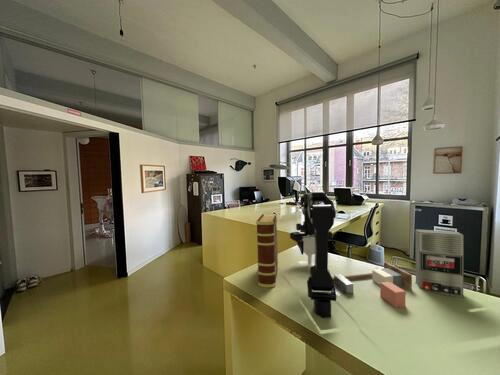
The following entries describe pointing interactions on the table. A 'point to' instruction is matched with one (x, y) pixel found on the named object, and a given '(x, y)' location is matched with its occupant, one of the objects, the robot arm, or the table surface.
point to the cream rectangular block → (381, 276)
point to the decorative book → (267, 250)
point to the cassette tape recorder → (440, 261)
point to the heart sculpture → (308, 250)
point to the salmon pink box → (392, 294)
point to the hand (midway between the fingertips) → (311, 253)
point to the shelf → (405, 275)
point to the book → (394, 277)
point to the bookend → (342, 285)
